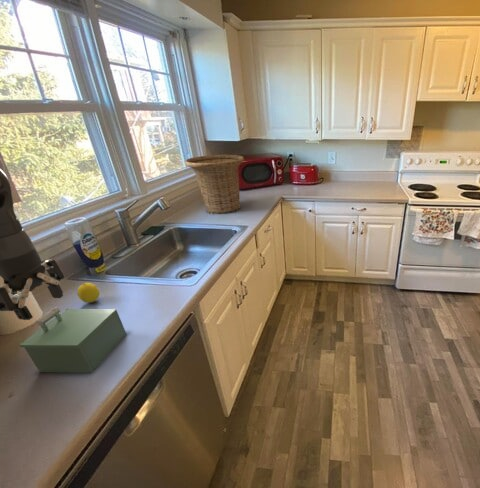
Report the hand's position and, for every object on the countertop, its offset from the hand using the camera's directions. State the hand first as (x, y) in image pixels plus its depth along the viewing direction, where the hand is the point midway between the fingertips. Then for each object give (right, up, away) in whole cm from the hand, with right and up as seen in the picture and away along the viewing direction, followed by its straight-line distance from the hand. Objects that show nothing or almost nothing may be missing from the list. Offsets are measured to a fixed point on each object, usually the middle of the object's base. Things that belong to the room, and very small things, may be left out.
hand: (43, 307), depth 71 cm
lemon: (-10, -4, +27) cm, 29 cm away
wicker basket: (+3, +40, +118) cm, 125 cm away
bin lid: (+5, -6, +3) cm, 8 cm away
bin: (+5, -14, +7) cm, 16 cm away
